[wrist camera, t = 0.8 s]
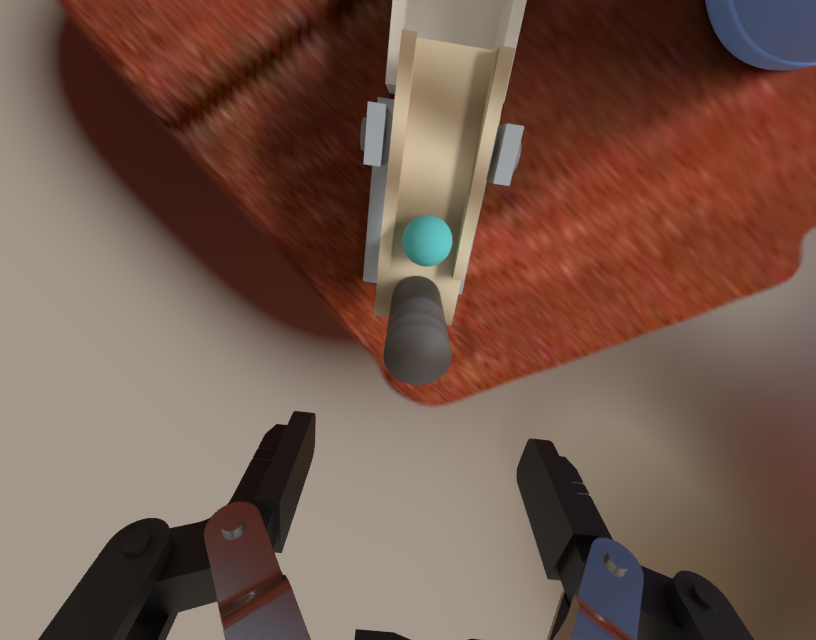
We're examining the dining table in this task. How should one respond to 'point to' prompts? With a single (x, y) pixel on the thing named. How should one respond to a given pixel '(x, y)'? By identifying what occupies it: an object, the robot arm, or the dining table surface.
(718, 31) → the water jug
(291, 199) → the dining table surface
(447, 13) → the gray open tray
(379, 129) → the stand
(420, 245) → the ball
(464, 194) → the lever
